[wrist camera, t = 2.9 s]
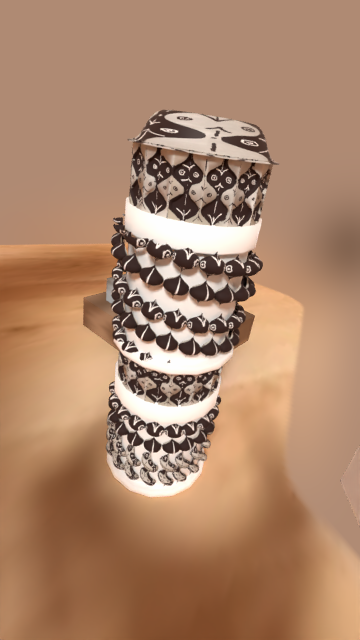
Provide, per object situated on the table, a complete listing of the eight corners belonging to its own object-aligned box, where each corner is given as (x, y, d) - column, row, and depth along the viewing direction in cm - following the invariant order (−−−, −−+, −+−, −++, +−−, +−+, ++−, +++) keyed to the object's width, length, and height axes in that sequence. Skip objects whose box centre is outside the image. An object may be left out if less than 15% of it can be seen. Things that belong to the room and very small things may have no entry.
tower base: (83, 324, 46) (83, 275, 42) (166, 297, 57) (172, 256, 53) (169, 387, 37) (178, 332, 34) (247, 340, 48) (260, 295, 45)
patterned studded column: (76, 467, 27) (74, 92, 15) (138, 399, 35) (169, 115, 23) (180, 525, 24) (279, 121, 12) (222, 438, 32) (309, 135, 20)
